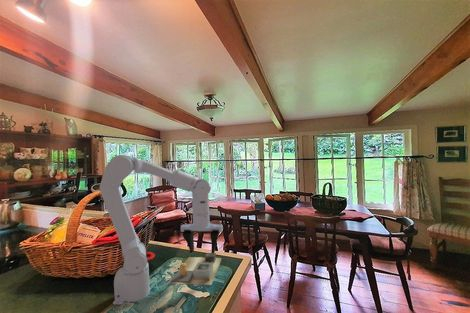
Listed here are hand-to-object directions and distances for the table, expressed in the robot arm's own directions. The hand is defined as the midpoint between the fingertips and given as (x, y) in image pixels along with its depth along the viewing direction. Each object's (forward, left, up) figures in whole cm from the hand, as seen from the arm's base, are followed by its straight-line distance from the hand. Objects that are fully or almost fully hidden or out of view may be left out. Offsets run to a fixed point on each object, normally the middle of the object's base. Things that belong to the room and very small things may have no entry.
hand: (202, 251), depth 77 cm
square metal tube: (0, 0, -8) cm, 8 cm away
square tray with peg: (-7, -1, -9) cm, 12 cm away
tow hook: (-30, +13, -10) cm, 34 cm away
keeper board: (-3, +4, -9) cm, 11 cm away
